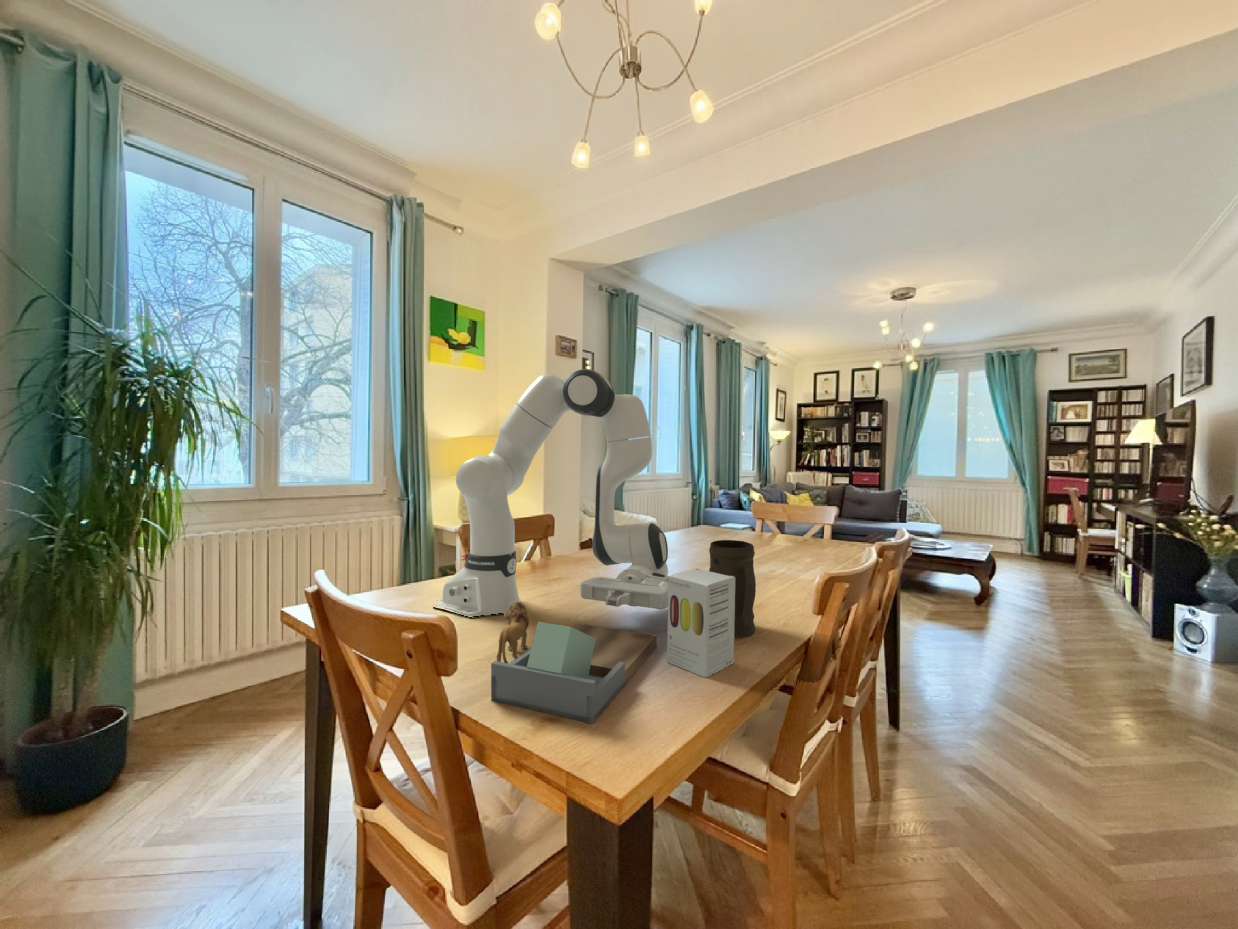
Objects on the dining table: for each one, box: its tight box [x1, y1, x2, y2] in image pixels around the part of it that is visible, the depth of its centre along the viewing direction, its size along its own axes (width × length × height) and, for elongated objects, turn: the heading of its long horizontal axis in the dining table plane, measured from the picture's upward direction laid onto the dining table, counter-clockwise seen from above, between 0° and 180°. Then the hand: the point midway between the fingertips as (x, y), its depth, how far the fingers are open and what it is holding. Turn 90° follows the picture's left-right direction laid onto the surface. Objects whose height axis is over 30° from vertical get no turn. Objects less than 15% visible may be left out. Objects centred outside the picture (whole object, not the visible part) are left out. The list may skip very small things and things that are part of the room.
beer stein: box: [708, 539, 757, 638], centre depth 110 cm, size 15×11×20 cm
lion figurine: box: [496, 601, 529, 664], centre depth 98 cm, size 15×5×9 cm, turn 5°
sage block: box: [527, 621, 596, 679], centre depth 83 cm, size 6×7×11 cm
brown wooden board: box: [572, 623, 658, 686], centre depth 97 cm, size 18×18×2 cm
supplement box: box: [666, 568, 735, 678], centre depth 94 cm, size 10×9×17 cm
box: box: [490, 648, 626, 724], centre depth 82 cm, size 18×13×6 cm
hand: (611, 602), depth 103 cm, fingers closed
